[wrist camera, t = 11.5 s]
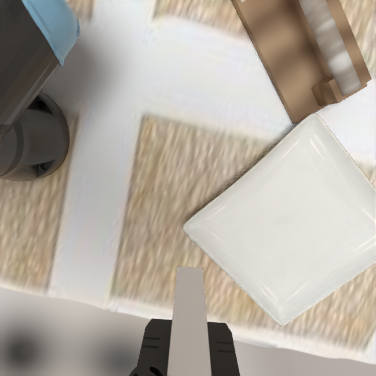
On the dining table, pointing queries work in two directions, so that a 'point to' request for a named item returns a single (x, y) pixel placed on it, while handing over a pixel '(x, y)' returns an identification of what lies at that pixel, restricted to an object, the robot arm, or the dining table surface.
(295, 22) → the pipe stand
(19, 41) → the robot arm
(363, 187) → the square plate
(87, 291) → the dining table surface
